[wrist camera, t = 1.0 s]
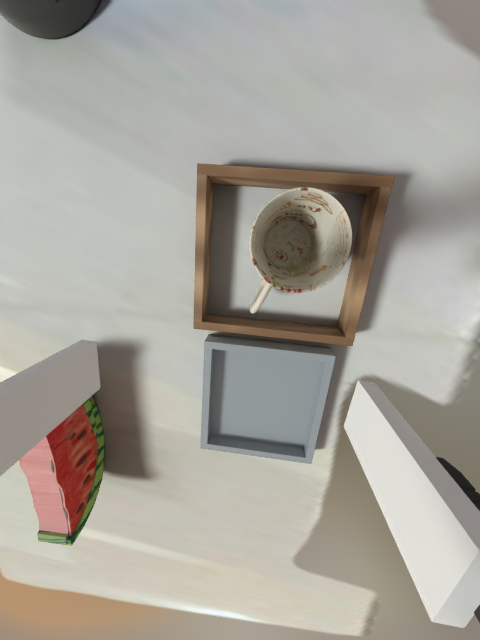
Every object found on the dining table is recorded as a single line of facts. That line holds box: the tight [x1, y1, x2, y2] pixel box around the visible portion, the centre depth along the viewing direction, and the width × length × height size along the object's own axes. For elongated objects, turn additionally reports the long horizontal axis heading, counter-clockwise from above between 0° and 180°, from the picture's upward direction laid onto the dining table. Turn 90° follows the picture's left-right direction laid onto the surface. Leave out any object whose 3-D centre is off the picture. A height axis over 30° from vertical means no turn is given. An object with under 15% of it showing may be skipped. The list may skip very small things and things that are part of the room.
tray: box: [201, 335, 336, 464], centre depth 34 cm, size 18×17×2 cm
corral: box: [194, 163, 394, 346], centre depth 28 cm, size 18×20×4 cm
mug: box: [250, 187, 352, 313], centre depth 25 cm, size 8×13×10 cm, turn 153°
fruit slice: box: [20, 396, 105, 546], centre depth 36 cm, size 26×6×10 cm, turn 178°
